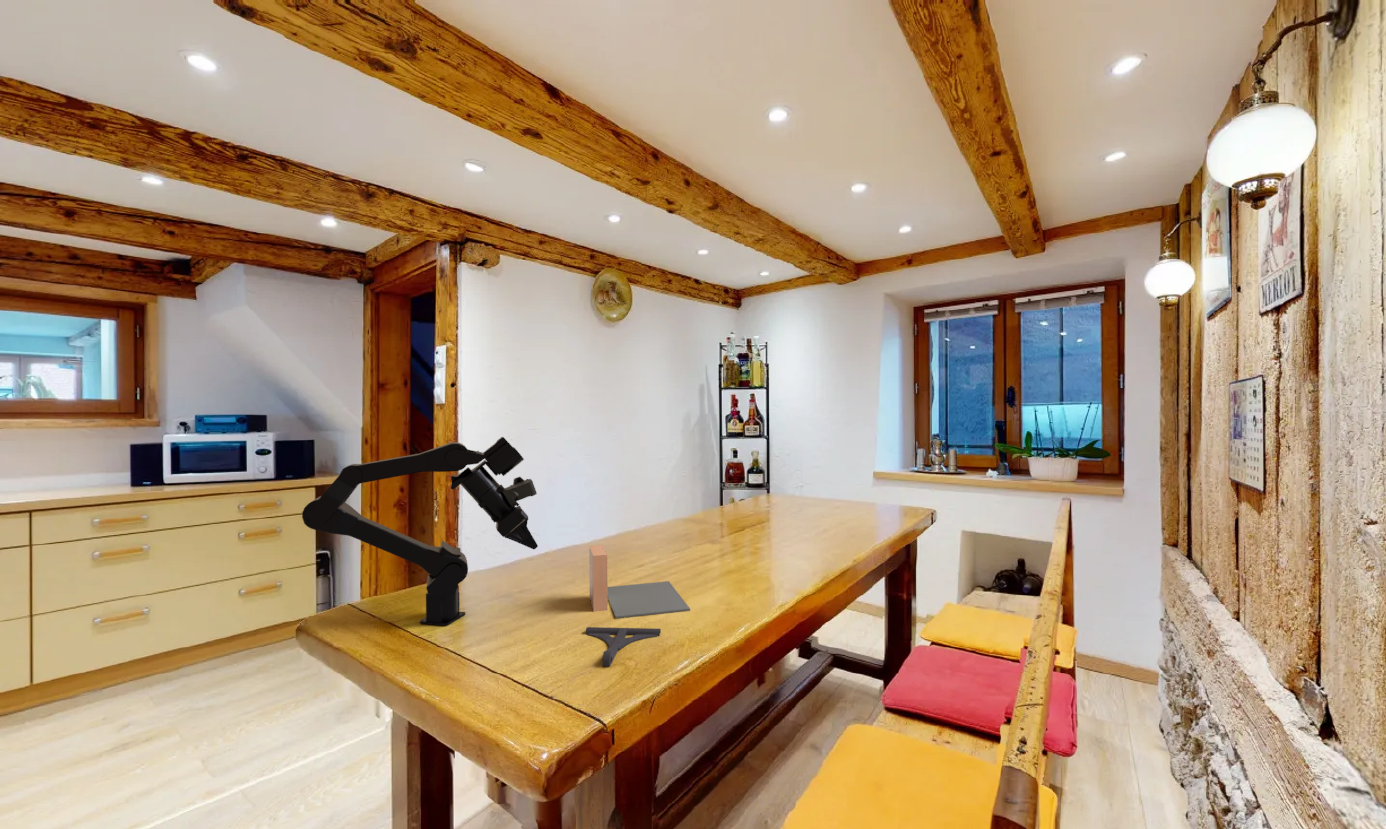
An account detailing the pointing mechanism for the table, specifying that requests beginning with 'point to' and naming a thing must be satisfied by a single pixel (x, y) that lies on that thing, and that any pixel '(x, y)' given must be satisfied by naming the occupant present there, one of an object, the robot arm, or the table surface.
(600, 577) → the brick
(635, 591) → the mat
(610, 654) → the bracket
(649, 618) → the table surface
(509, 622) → the table surface
